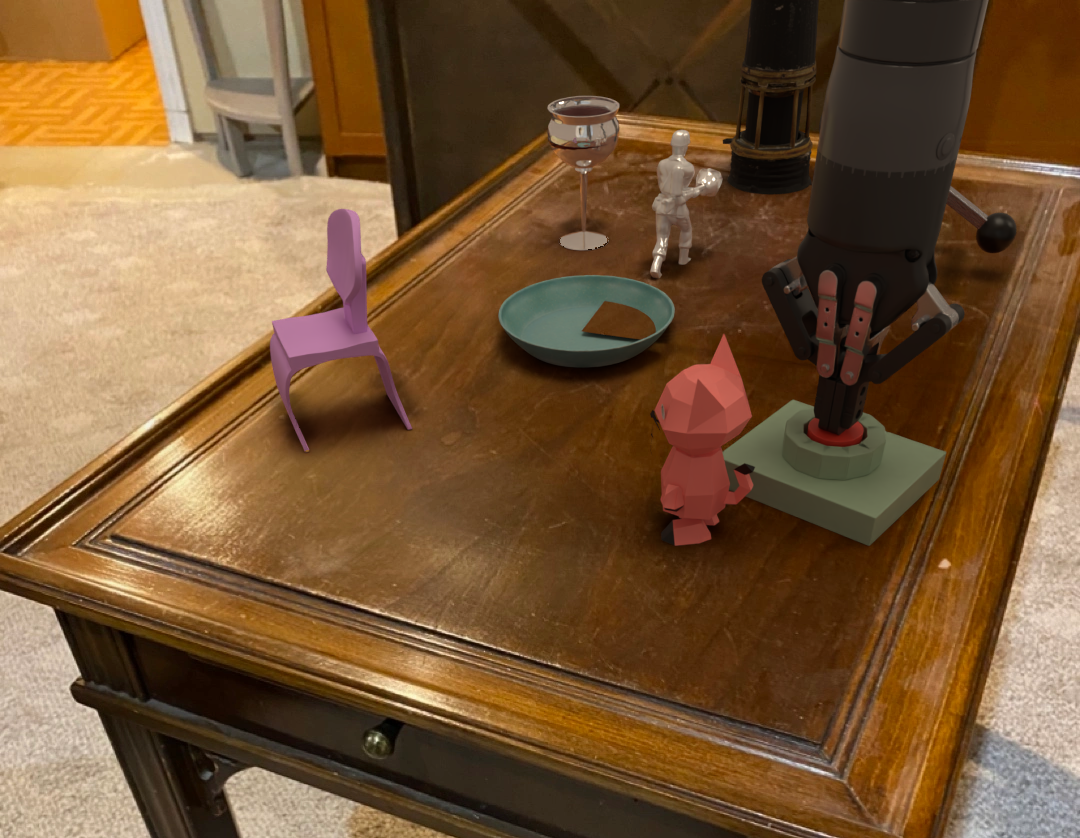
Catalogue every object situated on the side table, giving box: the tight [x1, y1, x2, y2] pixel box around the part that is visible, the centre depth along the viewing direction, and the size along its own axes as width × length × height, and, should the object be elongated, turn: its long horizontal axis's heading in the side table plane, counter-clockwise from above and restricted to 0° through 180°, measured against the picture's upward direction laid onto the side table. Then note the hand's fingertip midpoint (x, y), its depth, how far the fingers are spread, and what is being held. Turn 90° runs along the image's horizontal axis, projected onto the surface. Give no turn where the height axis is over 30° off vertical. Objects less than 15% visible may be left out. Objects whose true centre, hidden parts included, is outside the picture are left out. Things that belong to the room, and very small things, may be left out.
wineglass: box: [546, 95, 621, 251], centre depth 101 cm, size 7×7×12 cm
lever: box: [946, 185, 1018, 254], centre depth 90 cm, size 13×3×3 cm, turn 70°
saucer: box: [497, 274, 676, 369], centre depth 88 cm, size 15×15×3 cm
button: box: [807, 418, 864, 447], centre depth 71 cm, size 4×4×2 cm
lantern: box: [722, 0, 820, 196], centre depth 103 cm, size 9×9×30 cm
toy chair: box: [269, 208, 413, 452], centre depth 76 cm, size 8×9×15 cm
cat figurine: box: [649, 333, 755, 546], centre depth 65 cm, size 7×7×12 cm
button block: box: [722, 399, 947, 547], centre depth 72 cm, size 12×10×4 cm
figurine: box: [649, 129, 723, 279], centre depth 95 cm, size 5×9×12 cm, turn 154°
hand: (834, 427), depth 70 cm, fingers closed
